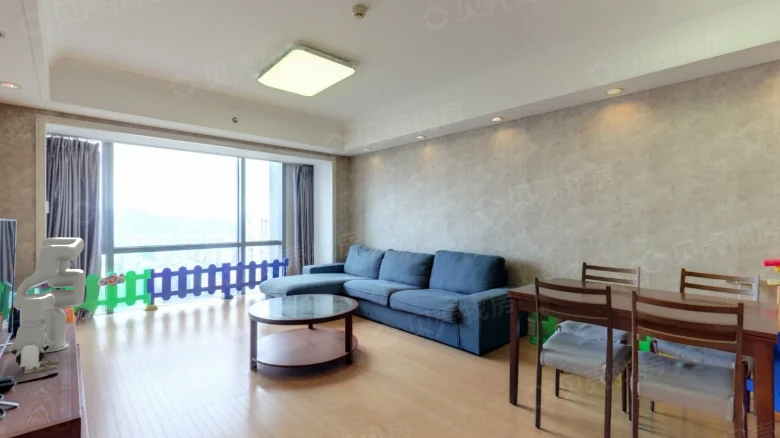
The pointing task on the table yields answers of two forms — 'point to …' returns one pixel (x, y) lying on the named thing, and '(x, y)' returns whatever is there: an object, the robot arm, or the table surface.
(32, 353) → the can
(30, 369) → the comb channel
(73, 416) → the table surface
